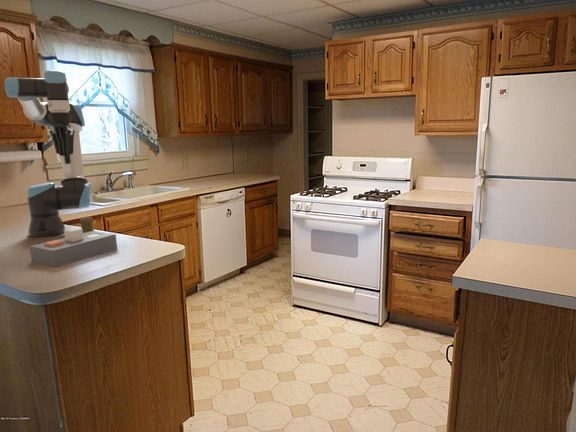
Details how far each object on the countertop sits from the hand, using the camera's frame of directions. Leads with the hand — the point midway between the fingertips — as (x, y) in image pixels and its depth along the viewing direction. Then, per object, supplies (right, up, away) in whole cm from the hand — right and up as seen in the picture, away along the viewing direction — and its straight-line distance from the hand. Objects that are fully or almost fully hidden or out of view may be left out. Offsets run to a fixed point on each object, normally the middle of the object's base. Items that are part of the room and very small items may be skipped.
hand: (67, 171), depth 174 cm
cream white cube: (+9, -27, -12) cm, 31 cm away
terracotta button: (+5, -31, -18) cm, 36 cm away
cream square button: (+13, -30, -4) cm, 33 cm away
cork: (+5, -29, +9) cm, 31 cm away
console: (+9, -33, -11) cm, 36 cm away
